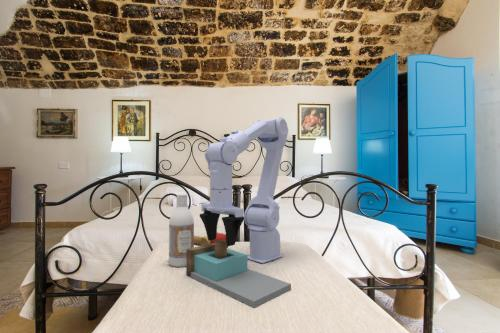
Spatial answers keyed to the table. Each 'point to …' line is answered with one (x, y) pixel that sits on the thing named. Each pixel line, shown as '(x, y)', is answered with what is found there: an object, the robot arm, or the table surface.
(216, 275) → the teal block
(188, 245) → the bath foam
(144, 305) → the table surface
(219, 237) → the kendama
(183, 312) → the table surface
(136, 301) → the table surface
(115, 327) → the table surface
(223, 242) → the walnut dowel
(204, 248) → the walnut wall
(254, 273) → the slate board
